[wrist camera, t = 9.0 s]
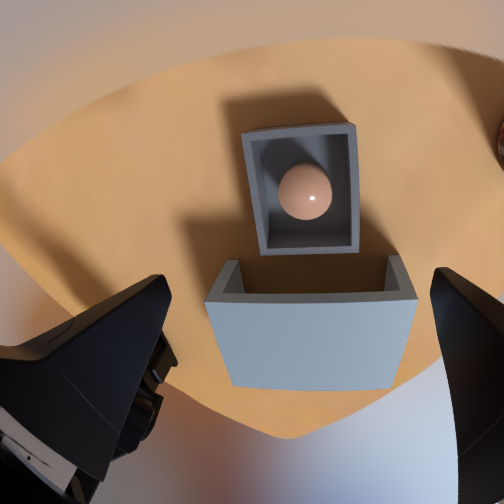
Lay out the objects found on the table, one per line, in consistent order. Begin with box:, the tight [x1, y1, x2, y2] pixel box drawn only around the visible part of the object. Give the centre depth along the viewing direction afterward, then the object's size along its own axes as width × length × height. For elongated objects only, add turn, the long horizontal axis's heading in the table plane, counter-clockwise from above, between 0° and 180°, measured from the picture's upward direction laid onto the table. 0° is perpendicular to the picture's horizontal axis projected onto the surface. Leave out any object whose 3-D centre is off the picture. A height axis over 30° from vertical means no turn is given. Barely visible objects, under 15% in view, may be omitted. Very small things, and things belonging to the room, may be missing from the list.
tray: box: [241, 122, 360, 256], centre depth 17 cm, size 6×8×3 cm
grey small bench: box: [204, 255, 418, 391], centre depth 21 cm, size 14×10×6 cm
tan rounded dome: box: [278, 161, 332, 220], centre depth 17 cm, size 3×3×2 cm
